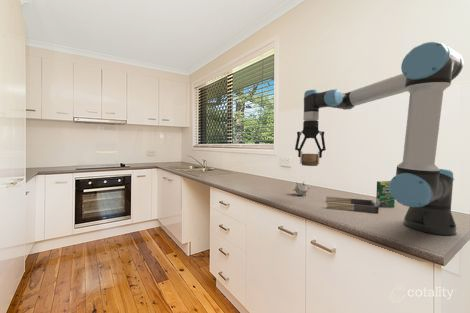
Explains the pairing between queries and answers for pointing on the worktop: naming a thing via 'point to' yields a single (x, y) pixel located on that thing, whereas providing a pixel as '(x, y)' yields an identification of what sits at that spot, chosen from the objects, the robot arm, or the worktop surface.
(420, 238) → the worktop surface
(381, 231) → the worktop surface
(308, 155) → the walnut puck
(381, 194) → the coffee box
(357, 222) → the worktop surface
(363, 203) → the channel
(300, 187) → the grey succulent plant
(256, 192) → the worktop surface
